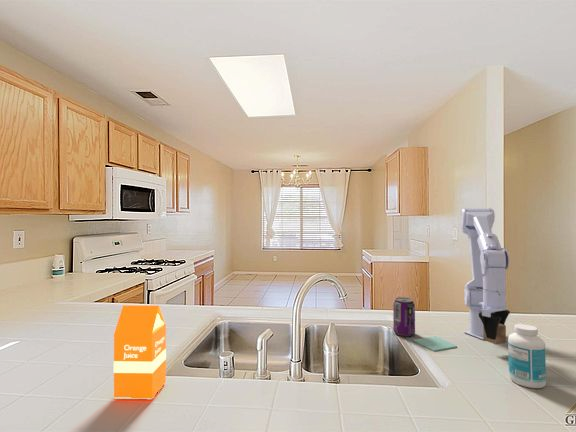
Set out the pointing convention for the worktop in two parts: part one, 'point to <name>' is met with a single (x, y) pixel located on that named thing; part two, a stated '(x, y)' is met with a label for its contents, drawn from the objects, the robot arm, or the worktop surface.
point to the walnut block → (500, 335)
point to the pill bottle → (527, 357)
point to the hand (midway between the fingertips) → (494, 336)
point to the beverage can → (404, 316)
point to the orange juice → (139, 352)
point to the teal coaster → (435, 343)
